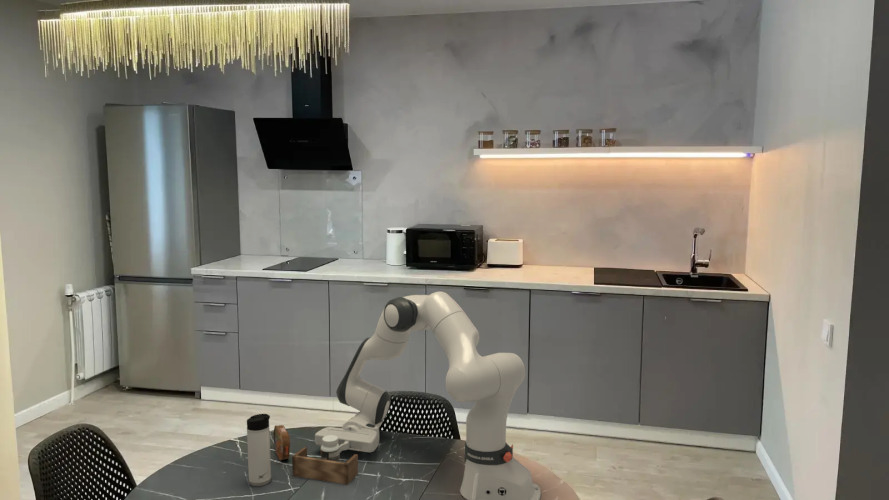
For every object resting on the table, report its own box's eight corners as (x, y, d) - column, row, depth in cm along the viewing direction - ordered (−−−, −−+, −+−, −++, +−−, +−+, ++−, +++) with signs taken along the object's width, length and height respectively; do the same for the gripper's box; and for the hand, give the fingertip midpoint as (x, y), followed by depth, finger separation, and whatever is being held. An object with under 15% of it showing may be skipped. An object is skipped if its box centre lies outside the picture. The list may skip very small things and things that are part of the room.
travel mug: (266, 487, 182) (263, 420, 180) (244, 485, 183) (242, 418, 181) (276, 477, 188) (273, 412, 186) (255, 475, 189) (253, 410, 187)
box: (358, 473, 190) (357, 454, 190) (347, 484, 184) (347, 464, 183) (304, 465, 196) (304, 446, 195) (292, 475, 189) (292, 456, 188)
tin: (273, 446, 210) (272, 421, 209) (282, 444, 211) (281, 420, 210) (281, 465, 196) (280, 438, 195) (292, 463, 198) (291, 437, 197)
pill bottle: (317, 468, 194) (316, 437, 192) (334, 463, 197) (333, 432, 196) (326, 475, 189) (325, 443, 188) (343, 470, 193) (342, 438, 192)
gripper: (326, 419, 211) (304, 435, 198) (383, 426, 205) (364, 444, 192) (326, 437, 212) (305, 455, 199) (383, 445, 206) (365, 464, 193)
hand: (335, 449), depth 195 cm, fingers closed, pressing on pill bottle
